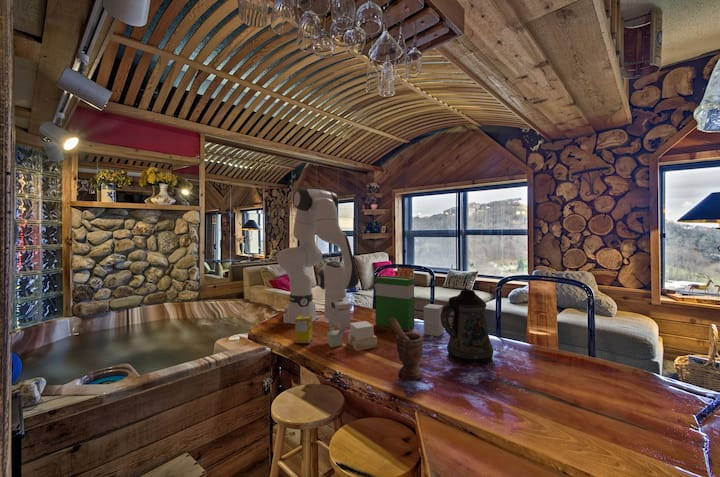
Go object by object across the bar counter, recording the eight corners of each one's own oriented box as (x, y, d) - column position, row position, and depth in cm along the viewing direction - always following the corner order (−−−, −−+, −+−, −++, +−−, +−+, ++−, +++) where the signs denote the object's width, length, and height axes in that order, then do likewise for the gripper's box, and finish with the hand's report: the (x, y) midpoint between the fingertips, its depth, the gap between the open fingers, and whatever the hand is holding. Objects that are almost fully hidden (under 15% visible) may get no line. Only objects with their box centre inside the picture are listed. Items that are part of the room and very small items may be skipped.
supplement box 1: (312, 339, 139) (312, 315, 139) (309, 344, 133) (308, 319, 133) (299, 339, 140) (299, 314, 139) (295, 344, 134) (294, 318, 133)
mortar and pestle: (405, 387, 97) (405, 323, 96) (384, 378, 103) (384, 317, 103) (428, 375, 104) (428, 315, 104) (407, 367, 111) (407, 310, 110)
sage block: (327, 343, 135) (326, 331, 135) (338, 341, 137) (338, 330, 137) (331, 347, 130) (330, 335, 130) (342, 345, 132) (342, 333, 132)
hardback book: (375, 324, 160) (375, 277, 159) (382, 320, 166) (382, 275, 166) (408, 330, 151) (408, 280, 150) (414, 326, 157) (414, 277, 156)
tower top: (350, 333, 134) (350, 323, 134) (366, 331, 137) (366, 320, 137) (356, 339, 127) (356, 328, 127) (373, 336, 130) (373, 325, 130)
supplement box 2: (444, 332, 148) (444, 305, 147) (438, 336, 141) (438, 308, 141) (428, 329, 152) (428, 303, 151) (423, 334, 145) (423, 306, 145)
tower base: (348, 344, 135) (348, 333, 135) (367, 340, 138) (367, 330, 138) (356, 351, 126) (356, 340, 126) (376, 347, 130) (376, 336, 130)
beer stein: (500, 356, 120) (500, 290, 119) (479, 373, 106) (479, 299, 105) (458, 345, 131) (458, 285, 131) (434, 359, 117) (434, 292, 116)
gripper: (320, 297, 141) (321, 328, 141) (337, 306, 123) (338, 342, 123) (333, 295, 144) (334, 326, 144) (352, 304, 125) (353, 339, 126)
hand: (336, 333), depth 133 cm, fingers open, 8 cm apart
